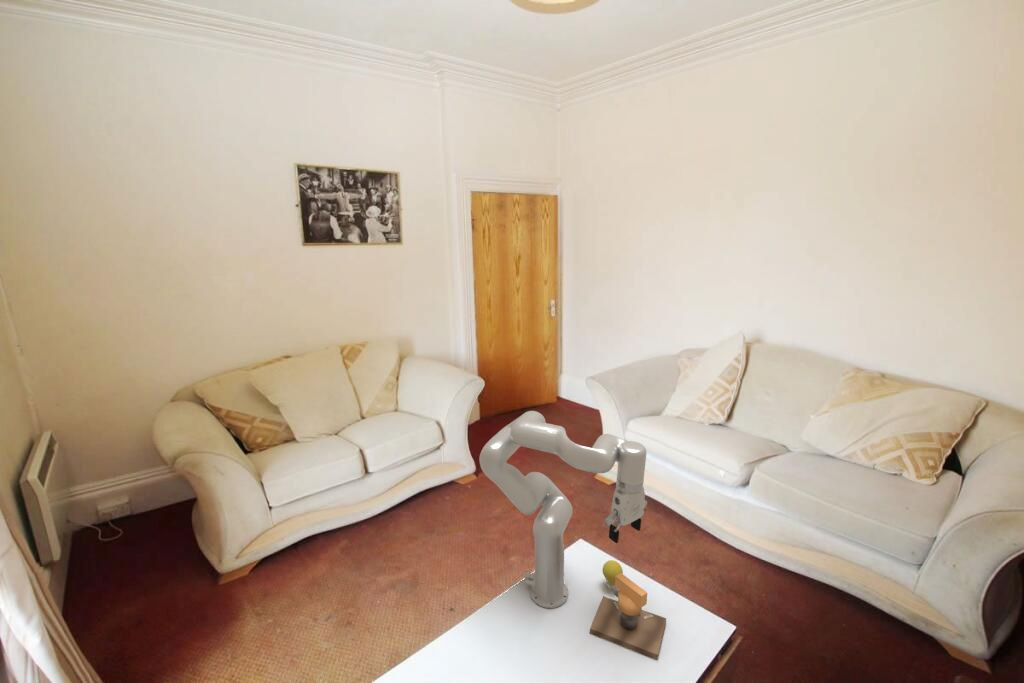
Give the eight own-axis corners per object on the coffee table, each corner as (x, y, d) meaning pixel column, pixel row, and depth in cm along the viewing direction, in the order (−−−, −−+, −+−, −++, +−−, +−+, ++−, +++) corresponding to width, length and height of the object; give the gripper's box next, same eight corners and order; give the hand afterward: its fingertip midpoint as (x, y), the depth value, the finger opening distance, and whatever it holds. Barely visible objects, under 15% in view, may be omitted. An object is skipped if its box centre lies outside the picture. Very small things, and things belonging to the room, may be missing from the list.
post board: (589, 633, 142) (590, 612, 140) (602, 601, 154) (603, 580, 152) (657, 660, 133) (659, 637, 131) (665, 623, 145) (667, 602, 143)
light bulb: (621, 596, 156) (623, 571, 153) (601, 593, 157) (602, 568, 155) (621, 581, 162) (622, 557, 160) (601, 579, 164) (602, 554, 161)
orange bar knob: (650, 611, 140) (652, 588, 138) (635, 623, 136) (636, 600, 134) (622, 589, 148) (624, 568, 146) (607, 600, 144) (608, 578, 142)
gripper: (619, 500, 128) (614, 552, 132) (659, 480, 138) (653, 530, 142) (599, 487, 134) (595, 538, 138) (638, 469, 144) (633, 517, 148)
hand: (624, 534), depth 140 cm, fingers open, 9 cm apart
